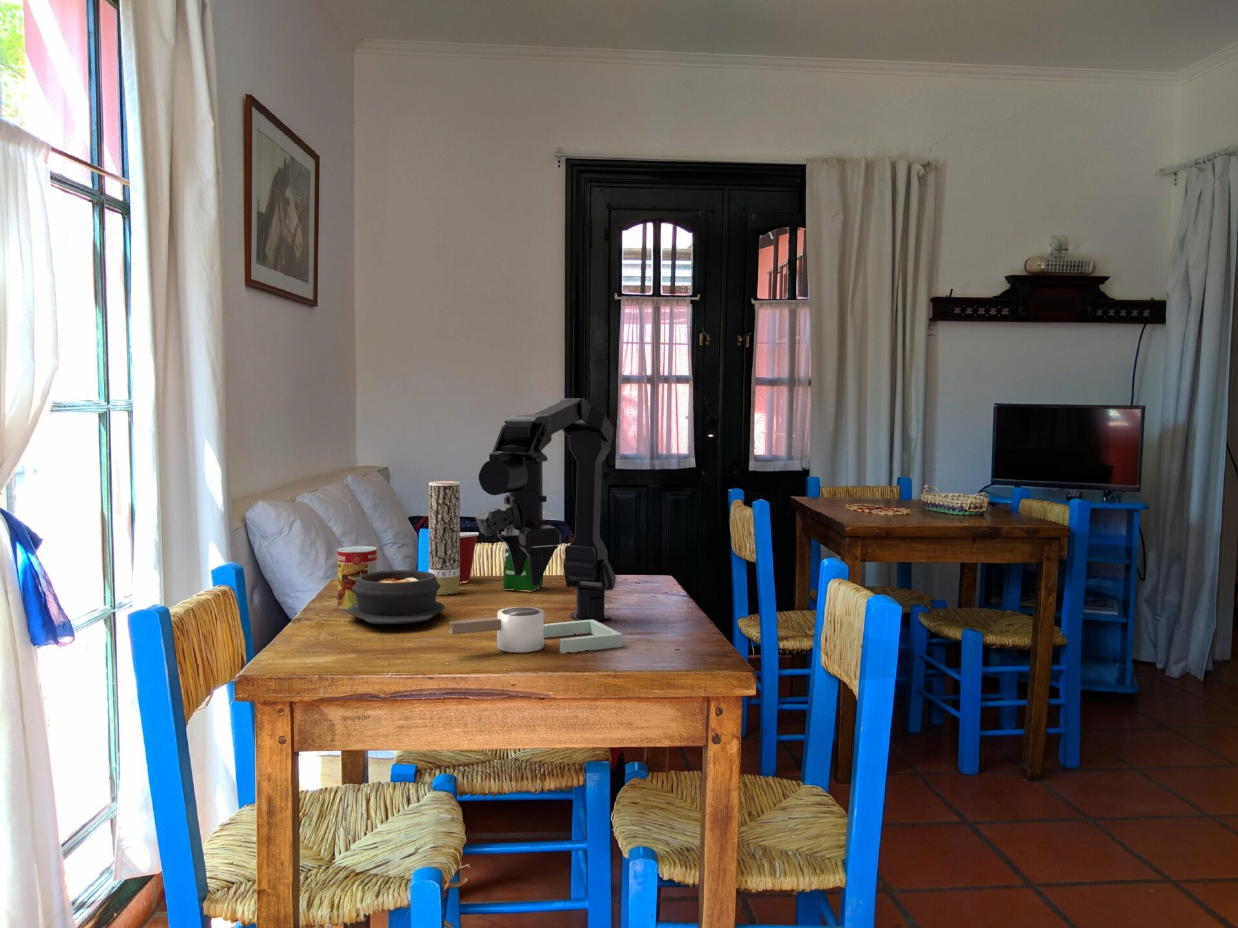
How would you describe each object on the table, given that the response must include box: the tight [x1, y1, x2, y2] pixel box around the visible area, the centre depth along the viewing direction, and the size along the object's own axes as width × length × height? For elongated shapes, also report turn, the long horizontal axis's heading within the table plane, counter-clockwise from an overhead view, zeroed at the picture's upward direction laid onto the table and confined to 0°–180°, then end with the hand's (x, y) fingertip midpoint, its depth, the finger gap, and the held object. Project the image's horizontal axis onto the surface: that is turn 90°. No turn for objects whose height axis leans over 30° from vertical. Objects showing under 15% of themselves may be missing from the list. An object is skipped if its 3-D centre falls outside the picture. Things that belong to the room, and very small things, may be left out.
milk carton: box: [502, 510, 546, 591], centre depth 206 cm, size 9×9×20 cm
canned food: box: [336, 545, 378, 611], centre depth 186 cm, size 8×8×12 cm
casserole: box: [347, 569, 446, 625], centre depth 175 cm, size 25×19×8 cm
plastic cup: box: [460, 531, 480, 582], centre depth 214 cm, size 11×11×12 cm
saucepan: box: [448, 606, 545, 654], centre depth 152 cm, size 16×8×6 cm, turn 115°
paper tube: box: [428, 480, 461, 596], centre depth 200 cm, size 7×7×25 cm
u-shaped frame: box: [544, 619, 623, 654], centre depth 158 cm, size 12×11×2 cm
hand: (526, 579), depth 153 cm, fingers open, 9 cm apart
